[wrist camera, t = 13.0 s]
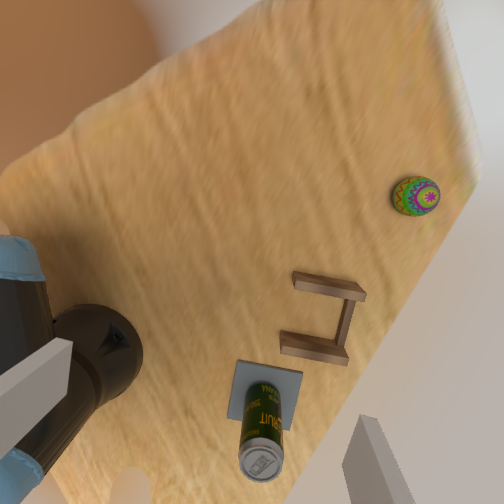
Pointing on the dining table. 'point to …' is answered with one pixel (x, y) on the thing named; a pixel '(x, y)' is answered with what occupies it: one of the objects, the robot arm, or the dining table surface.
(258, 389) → the beer can
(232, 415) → the coaster
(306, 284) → the rack
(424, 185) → the egg
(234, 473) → the dining table surface
